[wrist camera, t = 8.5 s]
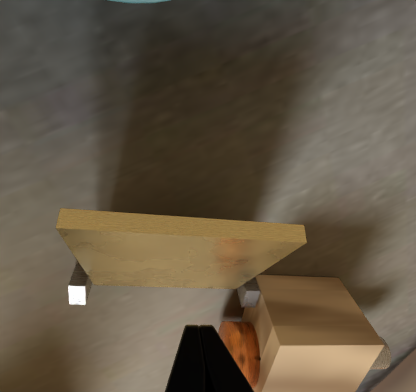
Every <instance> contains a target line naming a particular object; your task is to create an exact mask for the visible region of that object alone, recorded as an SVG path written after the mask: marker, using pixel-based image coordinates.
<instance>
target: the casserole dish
mask: <svg viewBox="0 0 416 392" xmlns="http://www.w3.org/2000/svg"><path fill="white" fill-rule="evenodd" d="M109 1H117V2H124V3H158V2H164V1H170V0H109Z"/></svg>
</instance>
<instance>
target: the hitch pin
mask: <svg viewBox="0 0 416 392" xmlns="http://www.w3.org/2000/svg"><path fill="white" fill-rule="evenodd" d="M218 334H219V336H220V338H221V339H222V341H223V342H224V344H225V346H226V347H227V349H228V350H229V352H230V354H231V355H232V357H233V358H234V360H235V362H236V363H237V365H238V366H239V368H240V370H241V371H242V373H243V374H244V376H245V377H246V379H247V381H248V382H249V384H250V385H251V387H252V388H254V387H255V386H256V385H257V383H258V379H259V374H260V360H261V358H260V349H259V342H258V337H257V333H256V330H255V328H254V326H253V324H252V323H251V322H242V321H223V322H222V323H221V325H220V328H219V333H218ZM379 337H380V336H379ZM380 339H381V340H382V342H383V343H384V345H385V346H384V347H383V349H382V350H381V352H380V353H379V355H378V357H377V358H376V360H375V361H374V363H373V364H372V366H371V368H370V369H386V368H388V367H389V365H390V362H391V353H390V350H389V347H388V345H387V343H386V342H385V340H384V339H383V338H381V337H380Z"/></svg>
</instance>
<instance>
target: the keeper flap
mask: <svg viewBox="0 0 416 392" xmlns="http://www.w3.org/2000/svg"><path fill="white" fill-rule="evenodd" d="M56 229H57V231H58V232H59V234H60V235H61V237H62V238H63V240H64V241H65V243H66V244H67V245H68V247H69V248H70V250H71V251H72V253H73V254H74V256H75V257H76V259H77V260H78V262H79V263H80V265H81V266H82V268H83V269H84V271H85V272H86V274H87V275H88V277H89V278H90V280H91V281H92V283H93V284H94V285H111V286H147V287H182V288H218V289H237V288H238V287H240V286H241V285H243V284H244V283H246V282H248V281H249V280H251V279H252V278H254V277H255V276H257V275H258V274H260V273H261V272H263V271H264V270H266V269H267V268H269V267H270V266H272V265H273V264H275V263H277V262H278V261H280V260H281V259H283V258H284V257H286V256H287V255H289V254H290V253H292V252H293V251H295V250H296V249H298V248H299V247H301V246H303V245H304V244H306V243H307V241H306V234H305V228H304V225H296V224H281V223H267V222H252V221H238V220H223V219H209V218H194V217H180V216H165V215H151V214H136V213H122V212H107V211H93V210H78V209H64V208H60V212H59V216H58V221H57V225H56Z"/></svg>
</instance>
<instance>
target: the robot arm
mask: <svg viewBox="0 0 416 392" xmlns="http://www.w3.org/2000/svg"><path fill="white" fill-rule="evenodd" d="M165 392H254V390H253V389H252V387H251V385H250V384H249V382H248V381H247V379H246V377H245V376H244V374H243V373H242V371H241V370H240V368H239V366H238V365H237V363H236V362H235V360H234V358H233V357H232V355H231V354H230V352H229V350H228V349H227V347H226V346H225V344H224V342H223V341H222V339H221V338H220V336H219V334H218V333H217V331H216V330H215V328H214V327H213V326H212V325H200V326H198V325H186V326H185V328H184V331H183V334H182V337H181V341H180V344H179V347H178V351H177V354H176V357H175V360H174V364H173V367H172V370H171V373H170V377H169V380H168V383H167V386H166V390H165Z"/></svg>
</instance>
